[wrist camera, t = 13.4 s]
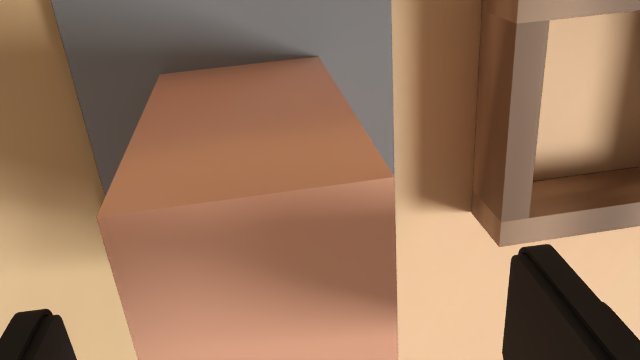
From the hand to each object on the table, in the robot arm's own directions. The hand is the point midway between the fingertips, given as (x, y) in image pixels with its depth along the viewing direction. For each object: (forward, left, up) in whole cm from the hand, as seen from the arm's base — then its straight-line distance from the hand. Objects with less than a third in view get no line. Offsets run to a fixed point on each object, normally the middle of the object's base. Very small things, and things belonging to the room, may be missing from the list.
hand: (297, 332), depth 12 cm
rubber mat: (+1, 0, -13) cm, 12 cm away
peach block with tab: (+1, +2, -12) cm, 12 cm away
